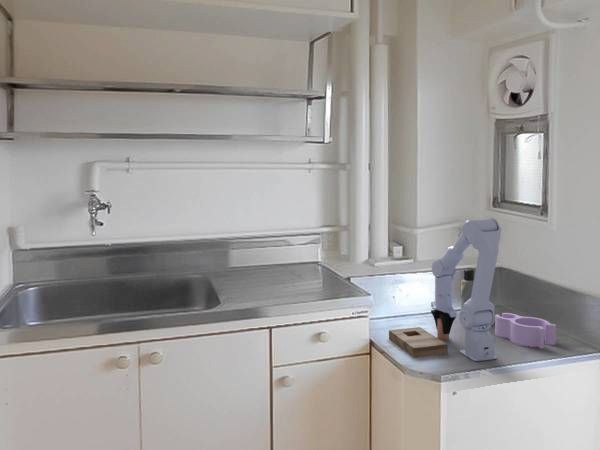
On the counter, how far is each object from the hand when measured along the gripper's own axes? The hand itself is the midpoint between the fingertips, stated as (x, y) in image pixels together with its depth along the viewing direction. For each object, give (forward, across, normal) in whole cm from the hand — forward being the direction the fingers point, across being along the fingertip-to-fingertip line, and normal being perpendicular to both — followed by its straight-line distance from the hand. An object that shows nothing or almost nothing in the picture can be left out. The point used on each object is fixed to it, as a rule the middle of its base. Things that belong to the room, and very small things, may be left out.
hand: (443, 331), depth 192 cm
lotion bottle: (+3, -20, +22) cm, 30 cm away
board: (+2, +4, -12) cm, 13 cm away
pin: (+2, 0, 0) cm, 2 cm away
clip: (+3, +9, +26) cm, 27 cm away
